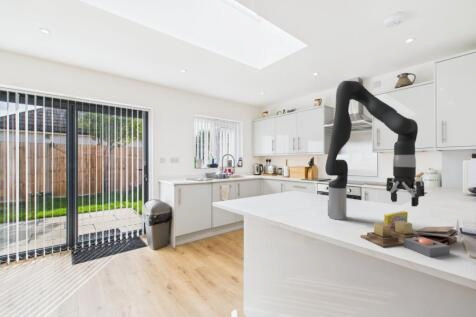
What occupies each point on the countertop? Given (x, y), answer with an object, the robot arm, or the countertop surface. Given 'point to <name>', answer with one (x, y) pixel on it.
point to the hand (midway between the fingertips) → (403, 203)
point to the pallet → (388, 239)
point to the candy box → (395, 218)
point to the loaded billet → (382, 230)
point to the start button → (425, 241)
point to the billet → (403, 228)
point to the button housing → (427, 247)
